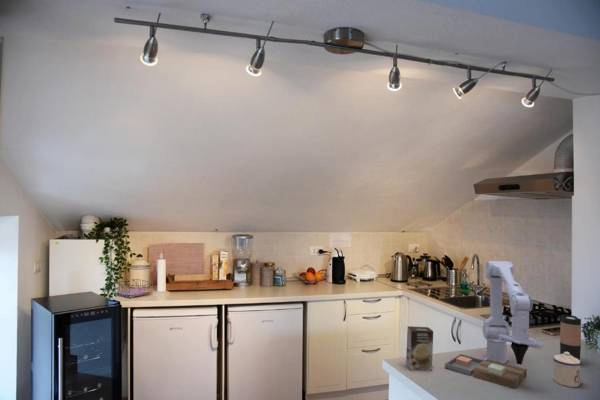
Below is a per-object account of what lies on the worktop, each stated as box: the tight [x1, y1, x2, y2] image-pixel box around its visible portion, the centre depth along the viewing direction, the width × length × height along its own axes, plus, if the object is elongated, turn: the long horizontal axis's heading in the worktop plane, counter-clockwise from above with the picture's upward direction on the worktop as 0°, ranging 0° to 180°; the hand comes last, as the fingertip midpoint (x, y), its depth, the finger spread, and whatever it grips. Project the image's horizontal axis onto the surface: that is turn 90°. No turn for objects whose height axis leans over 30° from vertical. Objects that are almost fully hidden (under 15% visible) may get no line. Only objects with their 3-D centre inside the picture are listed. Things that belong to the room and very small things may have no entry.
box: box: [444, 353, 484, 377], centre depth 173 cm, size 16×10×2 cm, turn 137°
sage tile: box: [488, 363, 506, 376], centre depth 161 cm, size 5×5×2 cm
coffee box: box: [405, 326, 434, 371], centre depth 171 cm, size 9×6×16 cm
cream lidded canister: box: [552, 352, 582, 388], centre depth 161 cm, size 12×9×12 cm
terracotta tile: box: [456, 356, 472, 367], centre depth 175 cm, size 5×5×2 cm
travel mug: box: [559, 314, 582, 361], centre depth 181 cm, size 8×8×20 cm
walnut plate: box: [472, 359, 527, 390], centre depth 164 cm, size 16×15×3 cm
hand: (519, 363), depth 155 cm, fingers closed
